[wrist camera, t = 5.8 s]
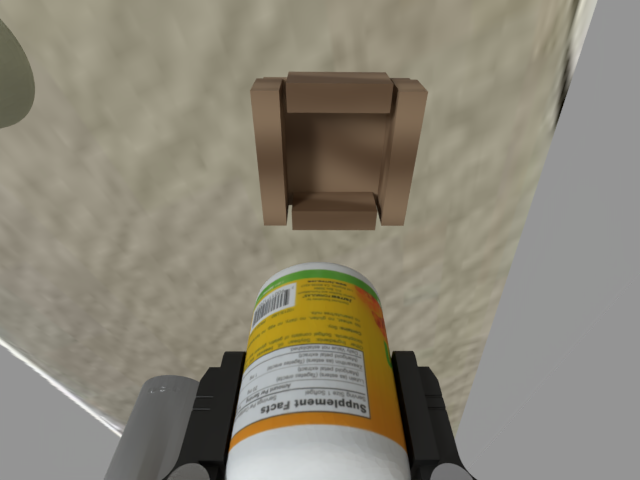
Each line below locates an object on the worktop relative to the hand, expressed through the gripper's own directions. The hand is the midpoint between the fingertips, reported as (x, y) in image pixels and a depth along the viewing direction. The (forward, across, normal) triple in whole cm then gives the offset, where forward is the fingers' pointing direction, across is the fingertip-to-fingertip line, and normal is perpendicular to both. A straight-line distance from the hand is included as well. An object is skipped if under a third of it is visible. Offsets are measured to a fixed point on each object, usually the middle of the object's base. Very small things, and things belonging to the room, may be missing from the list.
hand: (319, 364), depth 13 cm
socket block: (+18, +1, 0) cm, 18 cm away
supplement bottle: (+3, 0, 0) cm, 3 cm away
